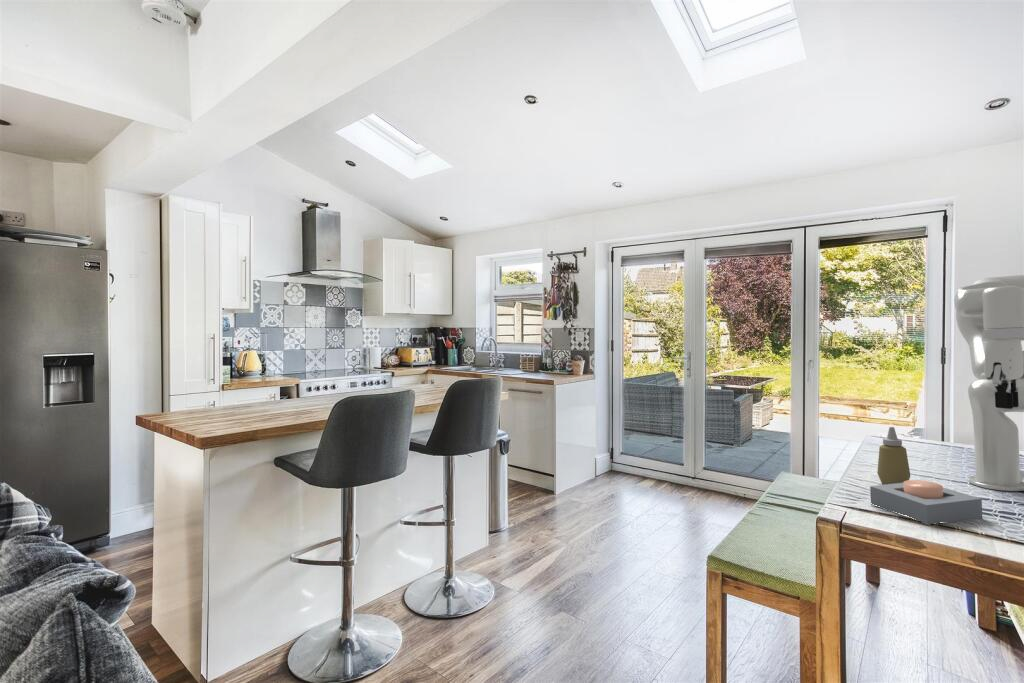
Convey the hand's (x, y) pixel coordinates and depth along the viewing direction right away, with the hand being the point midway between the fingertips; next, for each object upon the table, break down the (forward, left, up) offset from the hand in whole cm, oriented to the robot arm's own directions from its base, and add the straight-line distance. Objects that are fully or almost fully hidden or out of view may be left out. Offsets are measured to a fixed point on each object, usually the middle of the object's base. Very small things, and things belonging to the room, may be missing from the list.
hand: (1007, 406), depth 126 cm
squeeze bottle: (+7, -26, -27) cm, 38 cm away
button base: (+18, -7, -27) cm, 33 cm away
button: (+18, -7, -25) cm, 32 cm away
